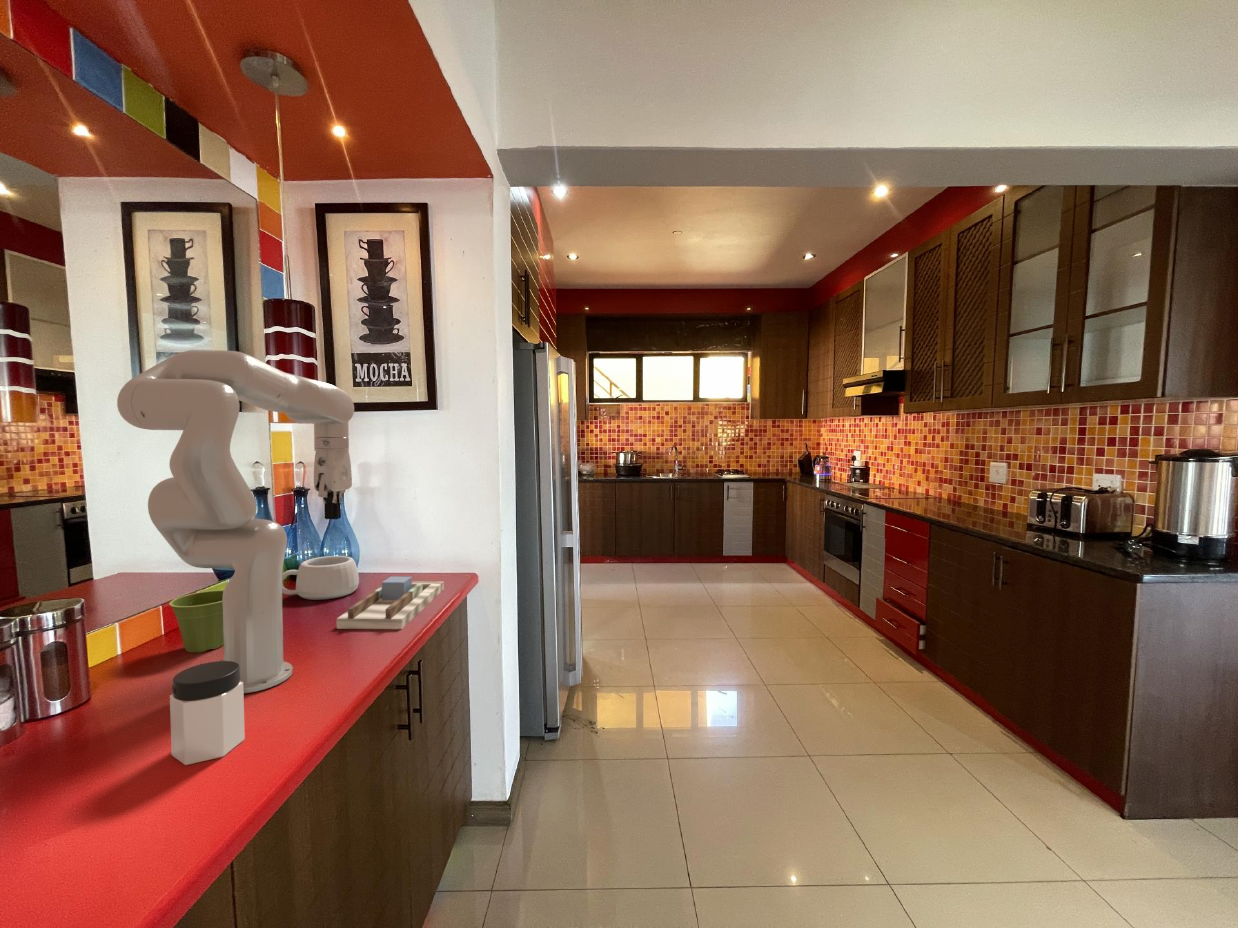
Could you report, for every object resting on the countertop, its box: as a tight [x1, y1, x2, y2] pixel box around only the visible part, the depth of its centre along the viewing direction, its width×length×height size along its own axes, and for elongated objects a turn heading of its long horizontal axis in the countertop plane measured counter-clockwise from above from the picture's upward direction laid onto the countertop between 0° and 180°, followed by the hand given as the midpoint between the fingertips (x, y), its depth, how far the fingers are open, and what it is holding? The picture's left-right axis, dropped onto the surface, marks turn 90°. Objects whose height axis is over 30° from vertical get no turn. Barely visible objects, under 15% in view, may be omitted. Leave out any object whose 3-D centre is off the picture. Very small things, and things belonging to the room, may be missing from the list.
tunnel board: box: [336, 580, 445, 630], centre depth 149 cm, size 34×16×5 cm, turn 1°
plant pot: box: [168, 589, 224, 654], centre depth 119 cm, size 12×12×11 cm
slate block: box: [381, 576, 413, 600], centre depth 150 cm, size 6×6×5 cm
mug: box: [282, 555, 360, 601], centre depth 159 cm, size 21×17×10 cm
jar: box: [169, 660, 246, 766], centre depth 82 cm, size 9×8×12 cm
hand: (332, 518), depth 133 cm, fingers closed
